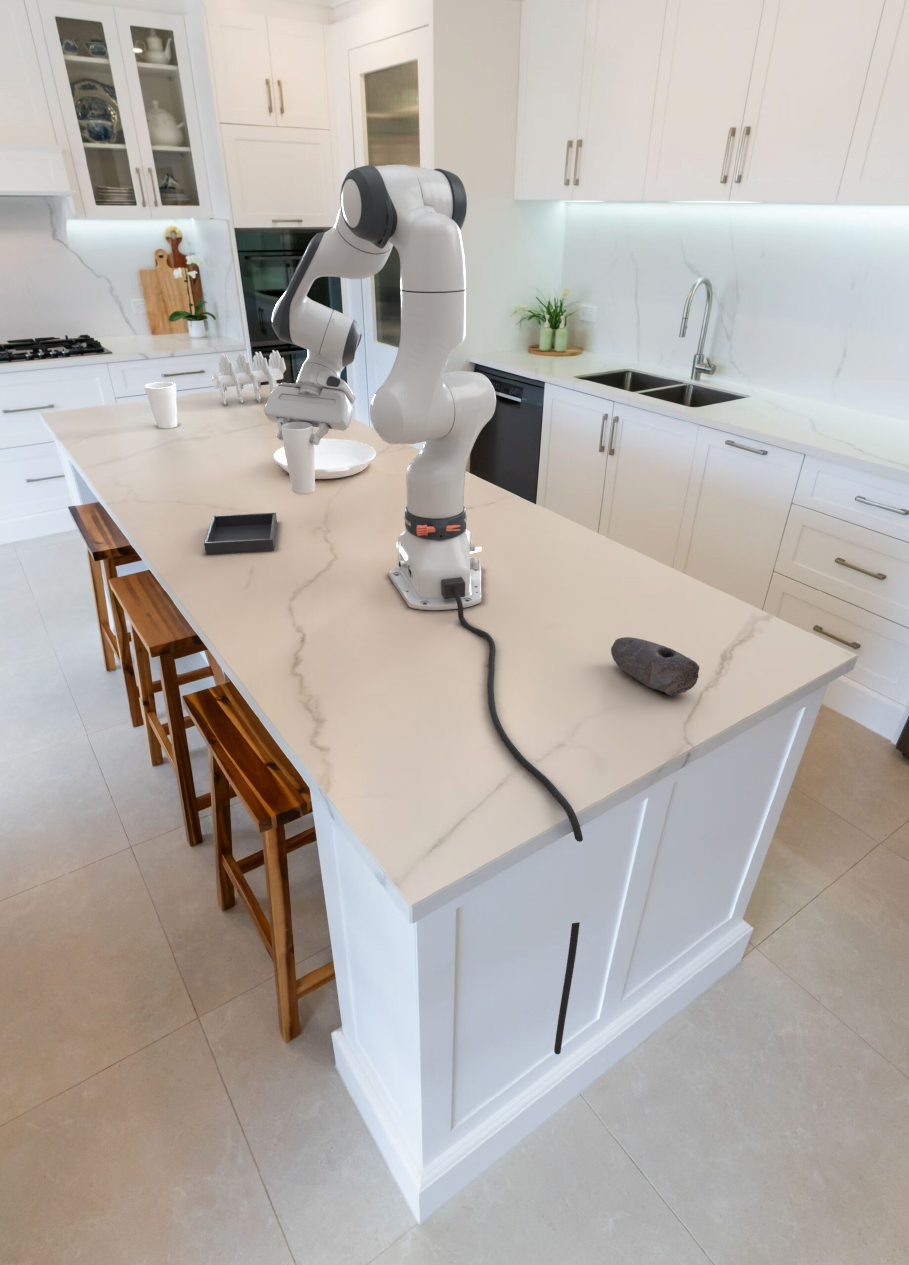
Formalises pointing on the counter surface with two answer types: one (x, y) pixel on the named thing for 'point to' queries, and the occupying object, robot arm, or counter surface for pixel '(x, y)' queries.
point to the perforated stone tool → (655, 665)
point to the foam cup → (163, 403)
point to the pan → (335, 458)
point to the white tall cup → (300, 456)
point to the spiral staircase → (248, 373)
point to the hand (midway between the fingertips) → (297, 441)
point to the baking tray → (241, 533)
